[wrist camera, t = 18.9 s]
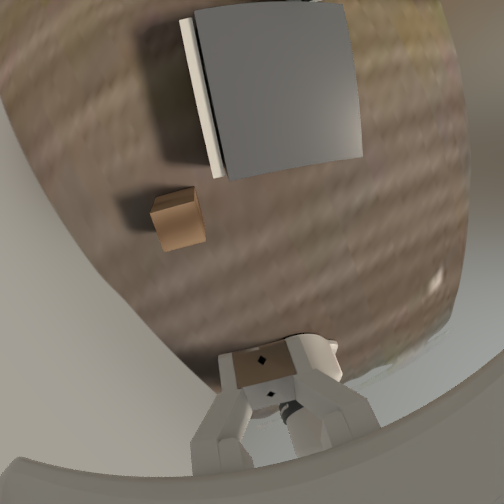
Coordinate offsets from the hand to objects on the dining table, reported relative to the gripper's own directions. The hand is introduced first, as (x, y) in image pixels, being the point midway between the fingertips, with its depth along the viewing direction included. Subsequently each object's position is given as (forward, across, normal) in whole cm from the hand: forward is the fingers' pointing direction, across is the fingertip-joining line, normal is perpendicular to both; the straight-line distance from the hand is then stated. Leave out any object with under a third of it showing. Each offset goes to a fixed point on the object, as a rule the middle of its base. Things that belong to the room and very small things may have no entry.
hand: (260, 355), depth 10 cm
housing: (+26, -8, -10) cm, 29 cm away
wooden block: (+26, +6, +3) cm, 27 cm away
